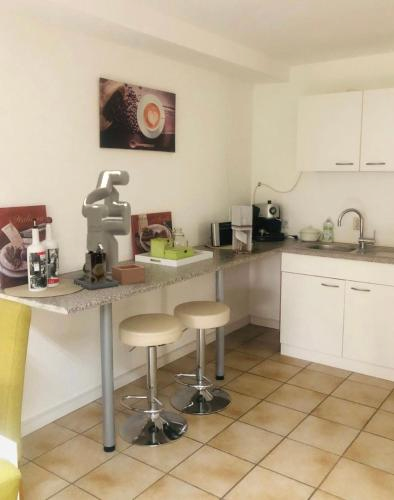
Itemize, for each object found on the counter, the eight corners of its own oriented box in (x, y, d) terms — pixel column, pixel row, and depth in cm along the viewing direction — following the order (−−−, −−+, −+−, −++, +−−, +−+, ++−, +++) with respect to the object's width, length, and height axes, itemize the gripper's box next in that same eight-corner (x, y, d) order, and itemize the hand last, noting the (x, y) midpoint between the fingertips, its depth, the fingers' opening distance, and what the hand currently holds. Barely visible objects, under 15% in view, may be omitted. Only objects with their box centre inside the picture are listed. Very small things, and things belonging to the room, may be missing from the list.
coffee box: (91, 285, 256) (91, 254, 254) (85, 283, 261) (84, 252, 258) (106, 282, 263) (106, 252, 260) (99, 280, 267) (99, 251, 265)
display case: (231, 252, 375) (232, 205, 369) (242, 251, 380) (243, 205, 374) (239, 254, 365) (240, 206, 360) (251, 253, 370) (252, 206, 364)
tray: (73, 283, 265) (73, 278, 264) (100, 279, 274) (100, 275, 274) (90, 290, 249) (90, 285, 249) (118, 286, 259) (118, 281, 258)
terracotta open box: (111, 281, 270) (111, 266, 269) (134, 278, 279) (134, 264, 278) (122, 285, 261) (121, 270, 260) (145, 281, 270) (145, 267, 269)
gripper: (80, 228, 262) (81, 260, 264) (95, 231, 248) (96, 265, 251) (93, 227, 266) (94, 259, 269) (109, 230, 253) (109, 264, 255)
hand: (95, 262), depth 260 cm, fingers open, 8 cm apart
